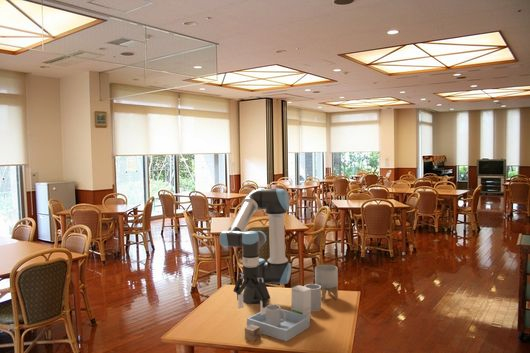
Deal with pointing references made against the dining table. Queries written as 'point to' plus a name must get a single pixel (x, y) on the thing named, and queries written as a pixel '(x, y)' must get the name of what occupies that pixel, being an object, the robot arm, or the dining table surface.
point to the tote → (281, 325)
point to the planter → (327, 279)
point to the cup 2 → (315, 296)
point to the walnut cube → (252, 332)
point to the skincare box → (301, 300)
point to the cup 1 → (274, 315)
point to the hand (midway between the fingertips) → (251, 310)
